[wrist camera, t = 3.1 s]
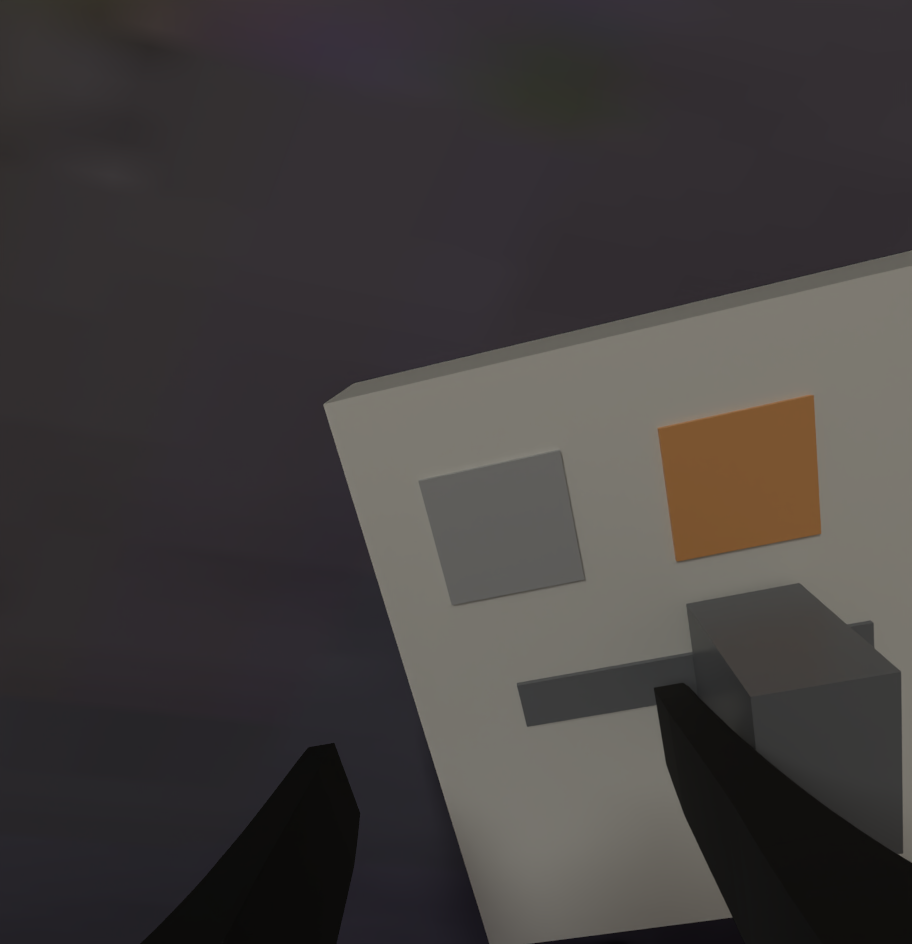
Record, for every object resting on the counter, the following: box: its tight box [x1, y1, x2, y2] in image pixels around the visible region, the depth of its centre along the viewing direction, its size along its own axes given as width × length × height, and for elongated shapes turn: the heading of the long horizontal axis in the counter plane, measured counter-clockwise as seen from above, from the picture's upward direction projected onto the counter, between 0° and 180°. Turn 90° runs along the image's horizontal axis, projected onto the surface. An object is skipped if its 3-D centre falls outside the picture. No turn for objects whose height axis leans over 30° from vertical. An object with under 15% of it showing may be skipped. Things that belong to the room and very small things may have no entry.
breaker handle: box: [686, 583, 903, 854], centre depth 11 cm, size 4×2×3 cm, turn 13°
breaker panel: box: [323, 251, 912, 944], centre depth 14 cm, size 16×14×3 cm
